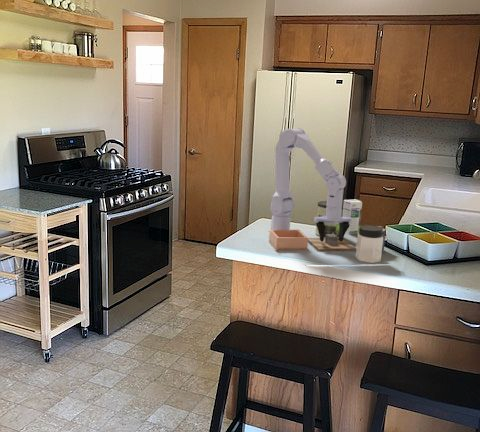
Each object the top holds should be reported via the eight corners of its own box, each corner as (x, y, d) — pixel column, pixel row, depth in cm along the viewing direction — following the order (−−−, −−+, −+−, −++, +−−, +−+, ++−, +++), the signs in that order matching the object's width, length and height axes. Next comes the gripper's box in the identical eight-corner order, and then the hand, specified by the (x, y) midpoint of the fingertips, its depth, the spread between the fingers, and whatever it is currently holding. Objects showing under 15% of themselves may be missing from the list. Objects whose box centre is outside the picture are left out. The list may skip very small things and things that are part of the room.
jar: (367, 265, 176) (371, 232, 173) (350, 258, 183) (353, 226, 180) (385, 261, 181) (389, 229, 178) (368, 255, 187) (371, 224, 185)
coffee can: (343, 236, 213) (346, 203, 210) (334, 241, 205) (337, 207, 202) (320, 231, 219) (323, 199, 215) (311, 236, 210) (313, 203, 207)
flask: (378, 250, 195) (381, 223, 192) (386, 252, 193) (389, 224, 191) (367, 255, 188) (370, 227, 186) (374, 256, 186) (377, 228, 184)
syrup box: (348, 235, 215) (351, 201, 212) (340, 231, 220) (343, 199, 217) (359, 234, 217) (362, 201, 214) (351, 231, 222) (354, 198, 219)
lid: (306, 239, 202) (307, 230, 202) (342, 239, 205) (342, 230, 204) (318, 251, 188) (319, 240, 187) (356, 250, 191) (357, 240, 190)
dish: (268, 241, 199) (269, 229, 198) (298, 241, 201) (299, 229, 200) (276, 250, 188) (276, 238, 187) (307, 250, 190) (308, 237, 189)
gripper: (319, 208, 188) (316, 243, 191) (356, 208, 190) (352, 243, 194) (313, 204, 195) (310, 238, 198) (349, 204, 197) (345, 238, 200)
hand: (331, 240), depth 196 cm, fingers open, 7 cm apart
